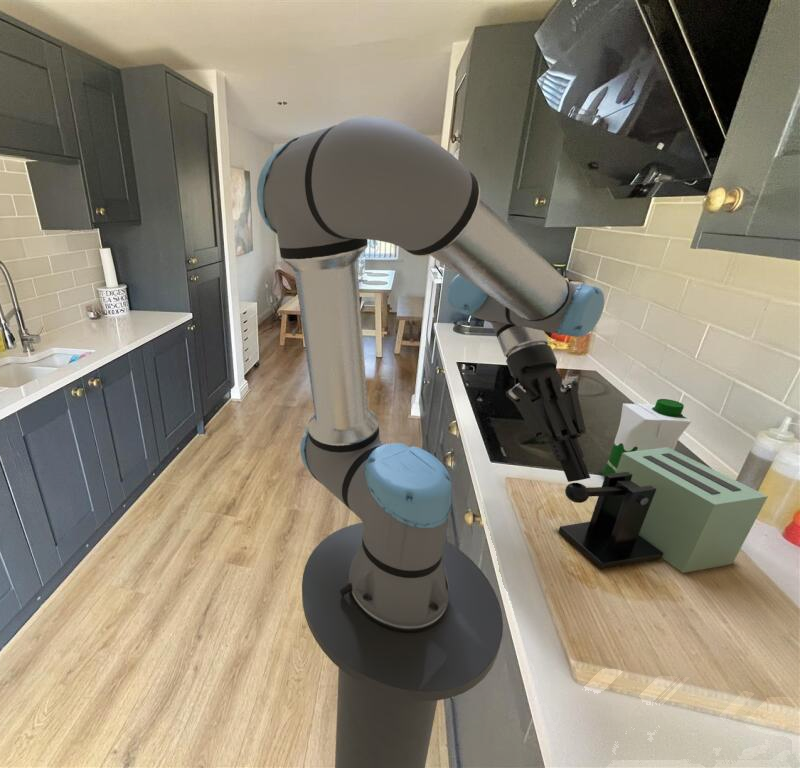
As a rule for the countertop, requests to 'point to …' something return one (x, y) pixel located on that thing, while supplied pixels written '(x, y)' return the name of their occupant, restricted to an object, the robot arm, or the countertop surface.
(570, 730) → the countertop surface
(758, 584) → the countertop surface
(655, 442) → the milk carton
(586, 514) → the countertop surface
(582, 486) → the black lever handle
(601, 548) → the lever bracket
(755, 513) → the toaster
